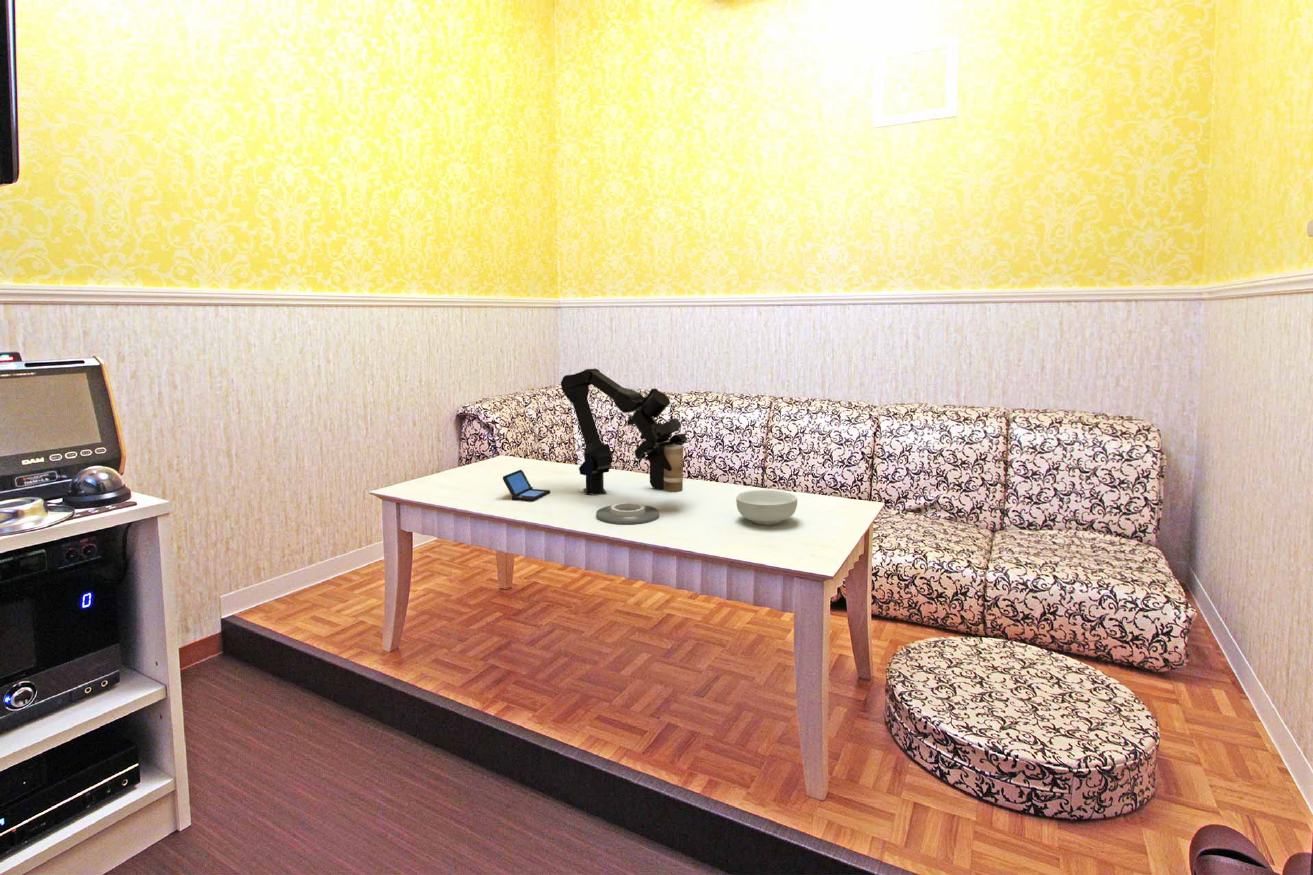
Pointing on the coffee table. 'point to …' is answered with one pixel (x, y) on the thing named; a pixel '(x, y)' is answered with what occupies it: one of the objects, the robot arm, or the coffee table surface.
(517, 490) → the handheld game console
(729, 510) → the coffee table surface
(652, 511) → the round tray
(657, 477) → the black rounded block
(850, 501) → the coffee table surface
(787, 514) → the cereal bowl
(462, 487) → the coffee table surface
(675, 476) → the brown cylindrical container
